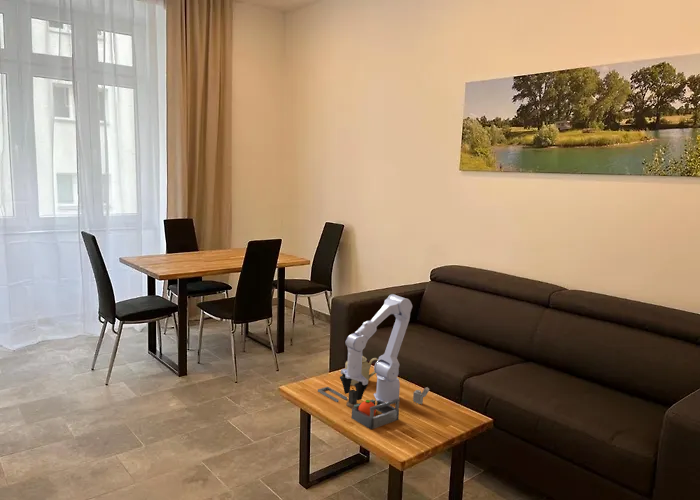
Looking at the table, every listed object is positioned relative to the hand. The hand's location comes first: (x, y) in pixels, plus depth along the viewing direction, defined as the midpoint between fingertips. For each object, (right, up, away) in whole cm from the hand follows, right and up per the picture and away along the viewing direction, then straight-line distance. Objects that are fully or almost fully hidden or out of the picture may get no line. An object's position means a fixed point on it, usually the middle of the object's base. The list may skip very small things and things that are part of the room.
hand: (353, 396), depth 220 cm
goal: (+8, -6, -9) cm, 14 cm away
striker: (+2, -5, -2) cm, 5 cm away
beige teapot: (+3, -1, +29) cm, 29 cm away
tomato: (+5, -6, -9) cm, 12 cm away
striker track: (-9, -3, +10) cm, 14 cm away
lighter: (+28, -5, +7) cm, 29 cm away
